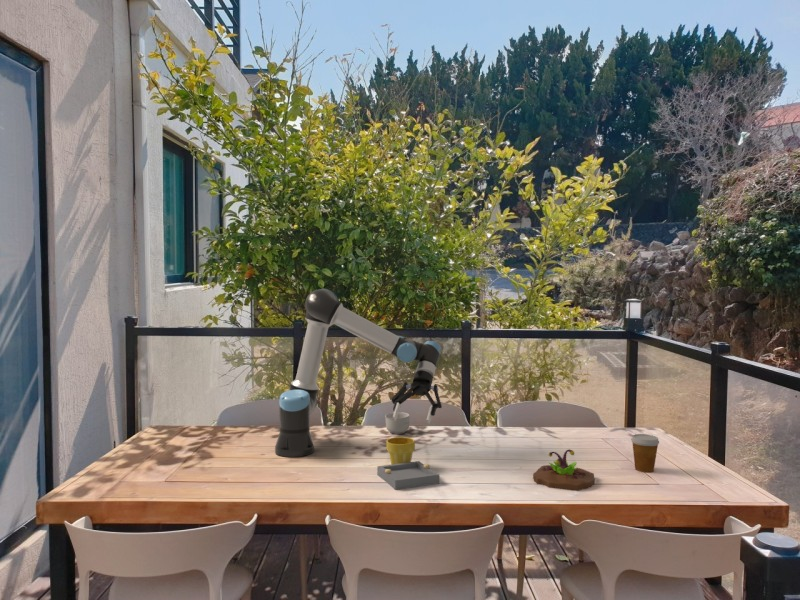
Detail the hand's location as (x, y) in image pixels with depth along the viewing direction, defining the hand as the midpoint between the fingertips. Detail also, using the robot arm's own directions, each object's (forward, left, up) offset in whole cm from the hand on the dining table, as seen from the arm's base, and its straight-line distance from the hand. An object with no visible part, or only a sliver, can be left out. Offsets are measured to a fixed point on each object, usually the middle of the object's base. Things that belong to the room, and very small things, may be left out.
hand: (411, 420), depth 232 cm
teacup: (+11, +39, -15) cm, 44 cm away
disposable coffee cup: (+73, -44, -15) cm, 87 cm away
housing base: (-11, -21, -15) cm, 27 cm away
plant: (+39, -42, -15) cm, 59 cm away
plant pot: (-8, -8, -15) cm, 18 cm away
